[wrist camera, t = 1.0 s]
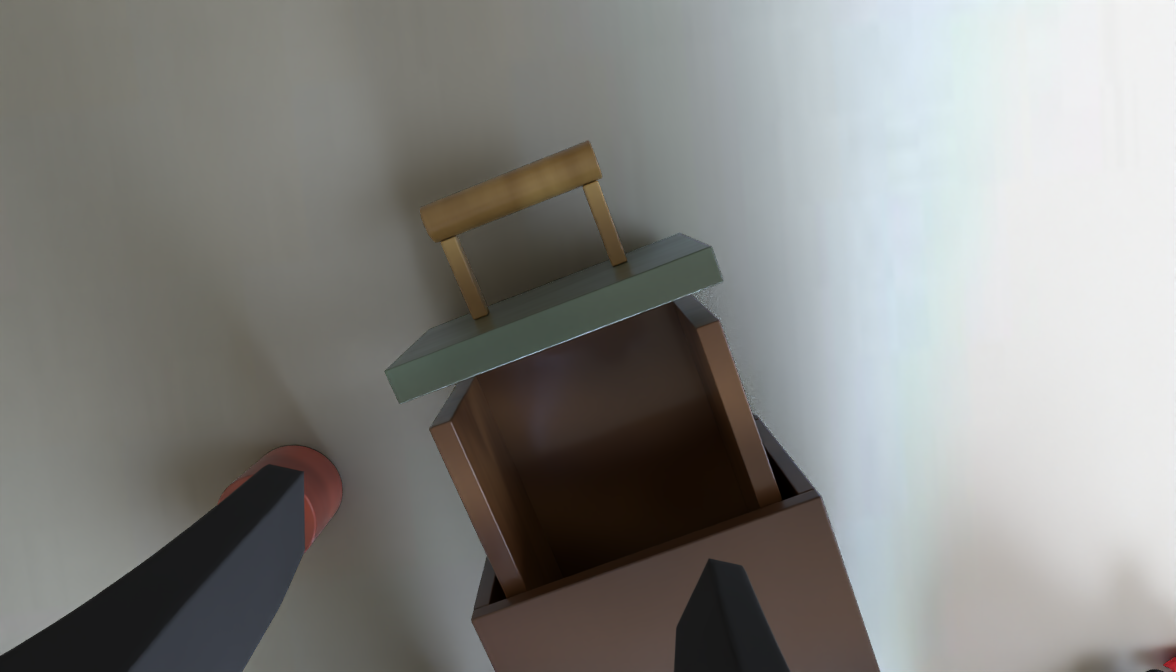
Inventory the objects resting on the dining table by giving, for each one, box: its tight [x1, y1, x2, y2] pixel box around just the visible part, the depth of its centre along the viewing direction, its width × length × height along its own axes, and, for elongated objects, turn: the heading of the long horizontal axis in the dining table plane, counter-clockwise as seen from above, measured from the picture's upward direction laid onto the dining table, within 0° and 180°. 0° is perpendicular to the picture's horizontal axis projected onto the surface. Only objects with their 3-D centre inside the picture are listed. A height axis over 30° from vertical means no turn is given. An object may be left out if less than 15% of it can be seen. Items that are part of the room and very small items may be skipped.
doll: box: [217, 445, 342, 554], centre depth 27 cm, size 4×4×6 cm
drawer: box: [385, 141, 783, 598], centre depth 25 cm, size 17×11×7 cm, turn 21°
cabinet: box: [471, 415, 880, 672], centre depth 28 cm, size 14×12×8 cm
